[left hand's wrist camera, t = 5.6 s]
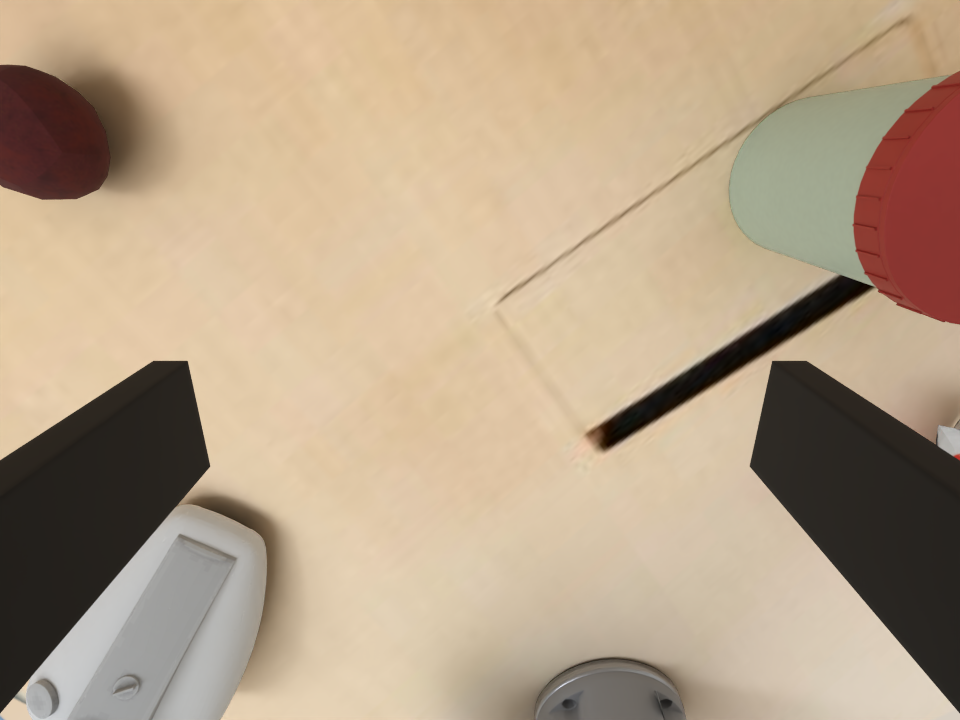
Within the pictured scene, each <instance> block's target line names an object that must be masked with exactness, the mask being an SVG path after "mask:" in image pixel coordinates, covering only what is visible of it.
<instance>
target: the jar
mask: <svg viewBox="0 0 960 720" xmlns="http://www.w3.org/2000/svg"><path fill="white" fill-rule="evenodd" d="M949 76H951V75H947V76H941V77H934V78H928V79H922V80H915V81H909V82H903V83H896V84H890V85H884V86H877V87H871V88H865V89H859V90H852V91H846V92H840V93H833V94H827V95H821V96H814V97H808V98H804V99H800V100H797V101H794V102H791V103H789V104H787V105H785V106H783V107H781V108H779V109H777V110H776V111H774V112H773V113H772V114H770V115H769V116H767V117H766V118H765V119H764V120H763V121H762V122H761V123H759V125H758V126H757V127H756V128H755V129H754V130H753V131H752V132H751V134H750V135H749V136H748V138H747V139H746V140H745V142H744V144H743V145H742V147H741V149H740V150H739V153H738V155H737V157H736V159H735V162H734V165H733V168H732V172H731V177H730V184H729V199H730V205H731V210H732V213H733V216H734V219H735V221H736V222H737V224H738V226H739V228H740V229H741V230H742V232H743V233H744V234H745V235H746V236H747V237H748V238H749V239H750V240H751V241H753V242H754V243H756V244H757V245H759V246H761V247H763V248H765V249H768V250H771V251H774V252H777V253H780V254H783V255H785V256H788V257H791V258H794V259H797V260H800V261H803V262H806V263H808V264H811V265H814V266H817V267H820V268H823V269H826V270H829V271H831V272H834V273H837V274H840V275H843V276H846V277H849V278H852V279H854V280H857V281H860V282H863V283H866V284H869V285H872V286H875V285H874V284H873V283H872V282H871V280H870V279H869V277H868V276H867V275H865V274H864V272H865V271H864V269H863V267H862V265H861V263H860V260H859V257H858V254H857V252H855V250H856V247H855V240H854V232H853V226H852V224H854V210H855V203H856V195H857V194H858V190H859V187H860V183H861V180H862V178H863V175H864V173H865V170H866V166H867V165H868V163H869V161H870V160H871V158H872V156H873V154H874V152H875V150H876V148H877V147H878V145H879V144H880V142H881V141H882V137H883V136H885V135H886V133H887V132H888V131H889V129H890V128H891V127H892V126H893V125H894V123H895V122H896V121H897V120H898V118H899V117H900V116H901V115H902V114H903V113H904V110H905V109H908V108H909V107H910V106H911V105H912V104H913V103H914V102H915V101H916V100H918V99H919V98H920V97H921V96H923V95H924V94H925V93H926V92H927V91H929V90H930V89H931V87H932V86H933V85H937V84H939V83H940V82H942V81H943V80H945V79H946V78H948V77H949ZM875 287H876V286H875Z"/></svg>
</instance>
